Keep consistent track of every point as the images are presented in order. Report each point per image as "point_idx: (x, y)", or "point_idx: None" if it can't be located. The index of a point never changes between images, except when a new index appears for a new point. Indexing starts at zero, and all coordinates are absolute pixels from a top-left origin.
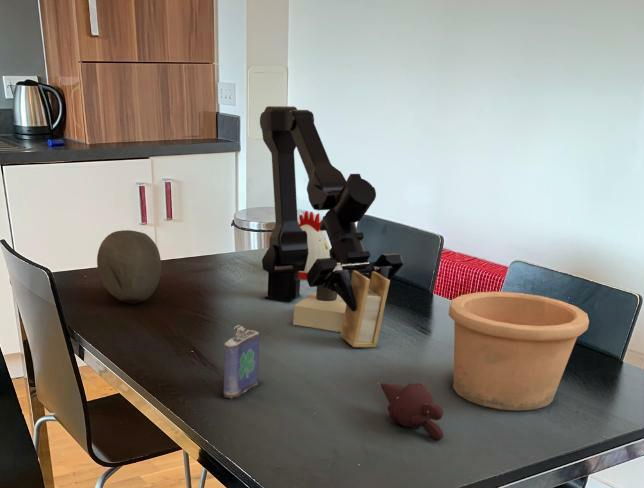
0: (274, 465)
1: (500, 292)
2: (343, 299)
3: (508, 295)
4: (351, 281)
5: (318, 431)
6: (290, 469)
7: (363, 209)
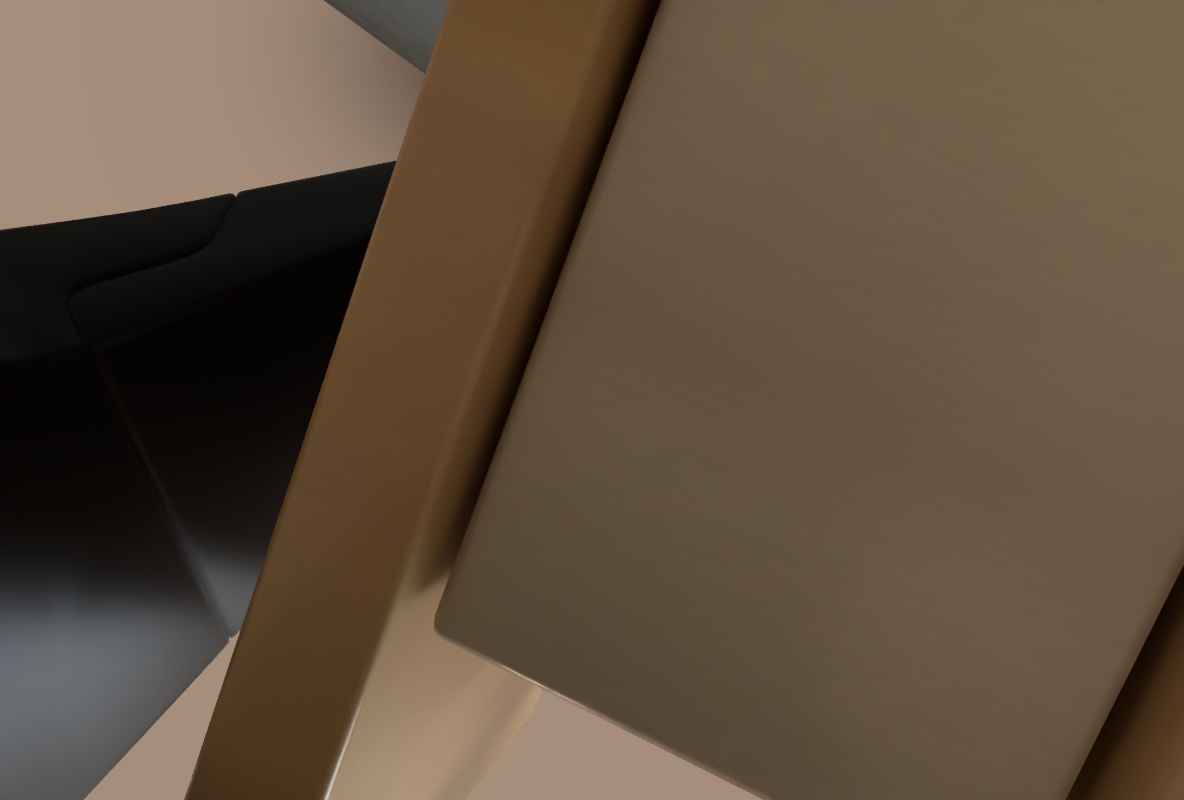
0: (361, 13)
1: None
2: (286, 206)
3: None
4: (229, 748)
5: (442, 20)
6: (395, 34)
7: None
